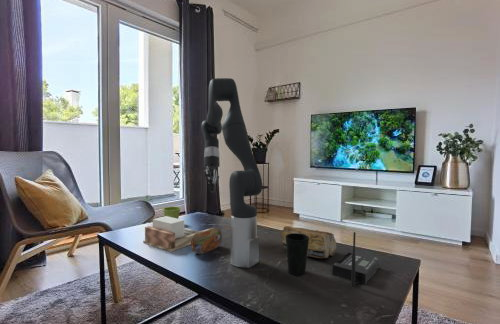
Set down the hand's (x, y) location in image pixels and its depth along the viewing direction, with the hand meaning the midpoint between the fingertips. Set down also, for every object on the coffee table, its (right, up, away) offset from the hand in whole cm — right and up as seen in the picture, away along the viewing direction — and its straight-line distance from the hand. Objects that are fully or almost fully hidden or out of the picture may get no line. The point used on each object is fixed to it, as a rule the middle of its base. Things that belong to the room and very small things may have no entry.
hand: (212, 191), depth 133 cm
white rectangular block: (-17, -18, -13) cm, 28 cm away
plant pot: (-24, -19, +17) cm, 35 cm away
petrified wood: (+41, -22, -21) cm, 51 cm away
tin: (+1, -22, -20) cm, 30 cm away
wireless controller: (+53, -24, -40) cm, 70 cm away
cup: (+34, -23, -39) cm, 56 cm away
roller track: (-15, -21, -9) cm, 27 cm away
